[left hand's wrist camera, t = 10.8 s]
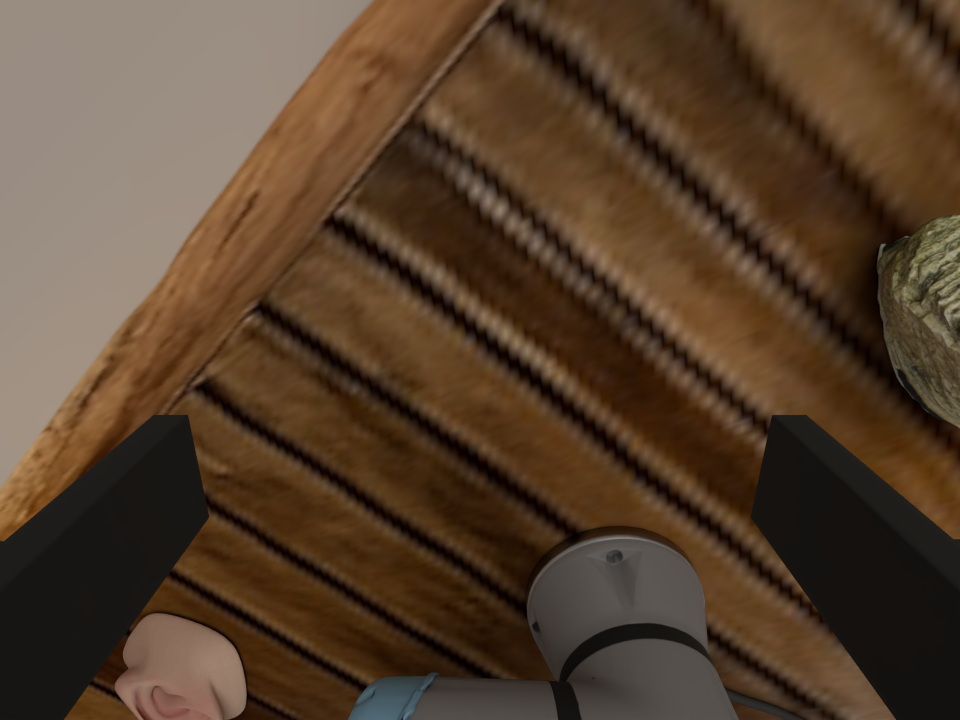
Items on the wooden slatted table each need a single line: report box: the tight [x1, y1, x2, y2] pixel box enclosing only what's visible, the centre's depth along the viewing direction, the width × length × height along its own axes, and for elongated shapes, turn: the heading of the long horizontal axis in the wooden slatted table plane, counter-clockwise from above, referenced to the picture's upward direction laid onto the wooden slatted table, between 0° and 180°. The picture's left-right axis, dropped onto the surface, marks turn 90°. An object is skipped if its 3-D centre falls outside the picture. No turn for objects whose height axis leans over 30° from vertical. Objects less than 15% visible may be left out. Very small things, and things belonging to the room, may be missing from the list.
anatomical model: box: [115, 613, 247, 720], centre depth 52 cm, size 13×4×12 cm
